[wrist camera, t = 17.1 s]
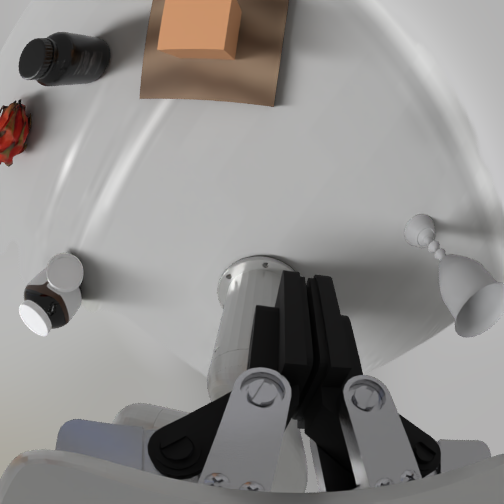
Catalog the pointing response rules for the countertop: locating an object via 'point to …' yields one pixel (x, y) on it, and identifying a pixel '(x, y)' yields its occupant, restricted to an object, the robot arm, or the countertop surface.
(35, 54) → the supplement bottle
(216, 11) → the peach colored cube
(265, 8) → the walnut board
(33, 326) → the spread jar
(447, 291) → the chalice
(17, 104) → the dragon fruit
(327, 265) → the countertop surface
